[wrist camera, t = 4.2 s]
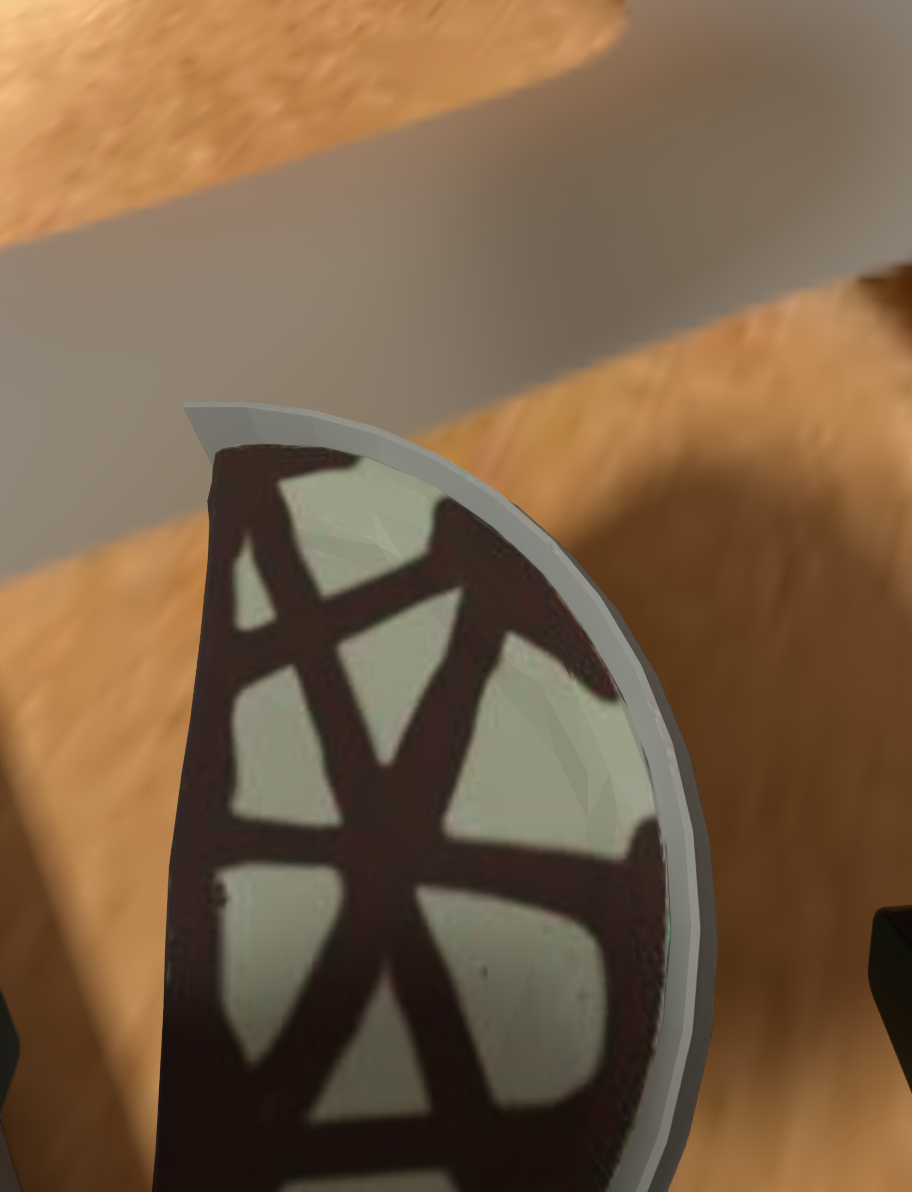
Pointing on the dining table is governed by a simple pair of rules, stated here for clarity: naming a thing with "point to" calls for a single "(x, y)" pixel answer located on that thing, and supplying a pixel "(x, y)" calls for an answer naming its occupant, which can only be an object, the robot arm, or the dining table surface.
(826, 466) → the dining table surface
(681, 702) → the dining table surface
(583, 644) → the food container
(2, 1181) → the dock
